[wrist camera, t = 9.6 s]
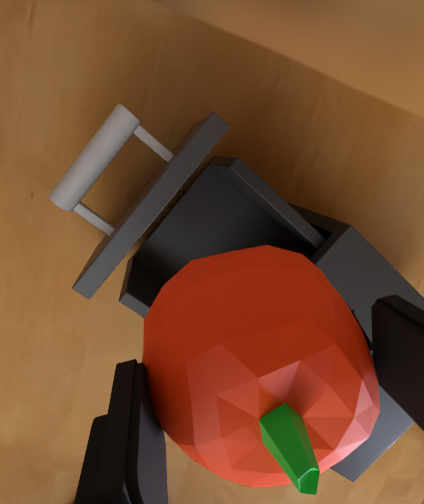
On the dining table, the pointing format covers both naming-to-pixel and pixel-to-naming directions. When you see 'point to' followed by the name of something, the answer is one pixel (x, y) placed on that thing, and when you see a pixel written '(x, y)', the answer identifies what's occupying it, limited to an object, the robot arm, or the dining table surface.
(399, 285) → the cabinet
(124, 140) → the drawer
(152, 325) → the pumpkin
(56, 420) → the dining table surface
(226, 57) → the dining table surface
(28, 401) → the dining table surface
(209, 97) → the dining table surface
